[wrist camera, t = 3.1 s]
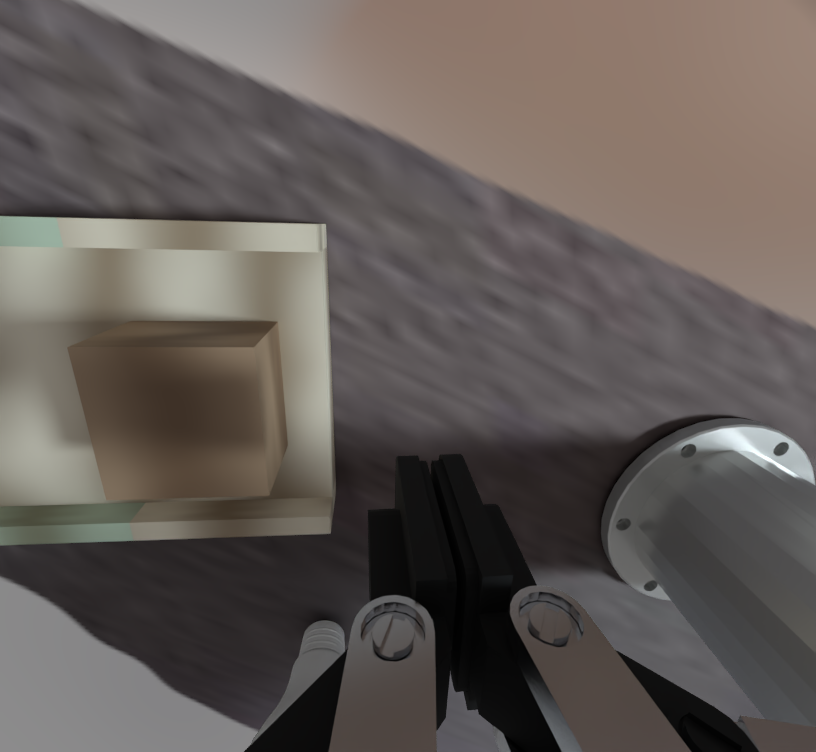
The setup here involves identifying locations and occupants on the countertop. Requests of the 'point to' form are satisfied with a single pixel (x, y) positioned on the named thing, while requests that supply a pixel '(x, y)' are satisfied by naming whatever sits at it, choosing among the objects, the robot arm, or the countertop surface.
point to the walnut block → (184, 408)
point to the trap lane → (154, 301)
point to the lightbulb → (310, 663)
